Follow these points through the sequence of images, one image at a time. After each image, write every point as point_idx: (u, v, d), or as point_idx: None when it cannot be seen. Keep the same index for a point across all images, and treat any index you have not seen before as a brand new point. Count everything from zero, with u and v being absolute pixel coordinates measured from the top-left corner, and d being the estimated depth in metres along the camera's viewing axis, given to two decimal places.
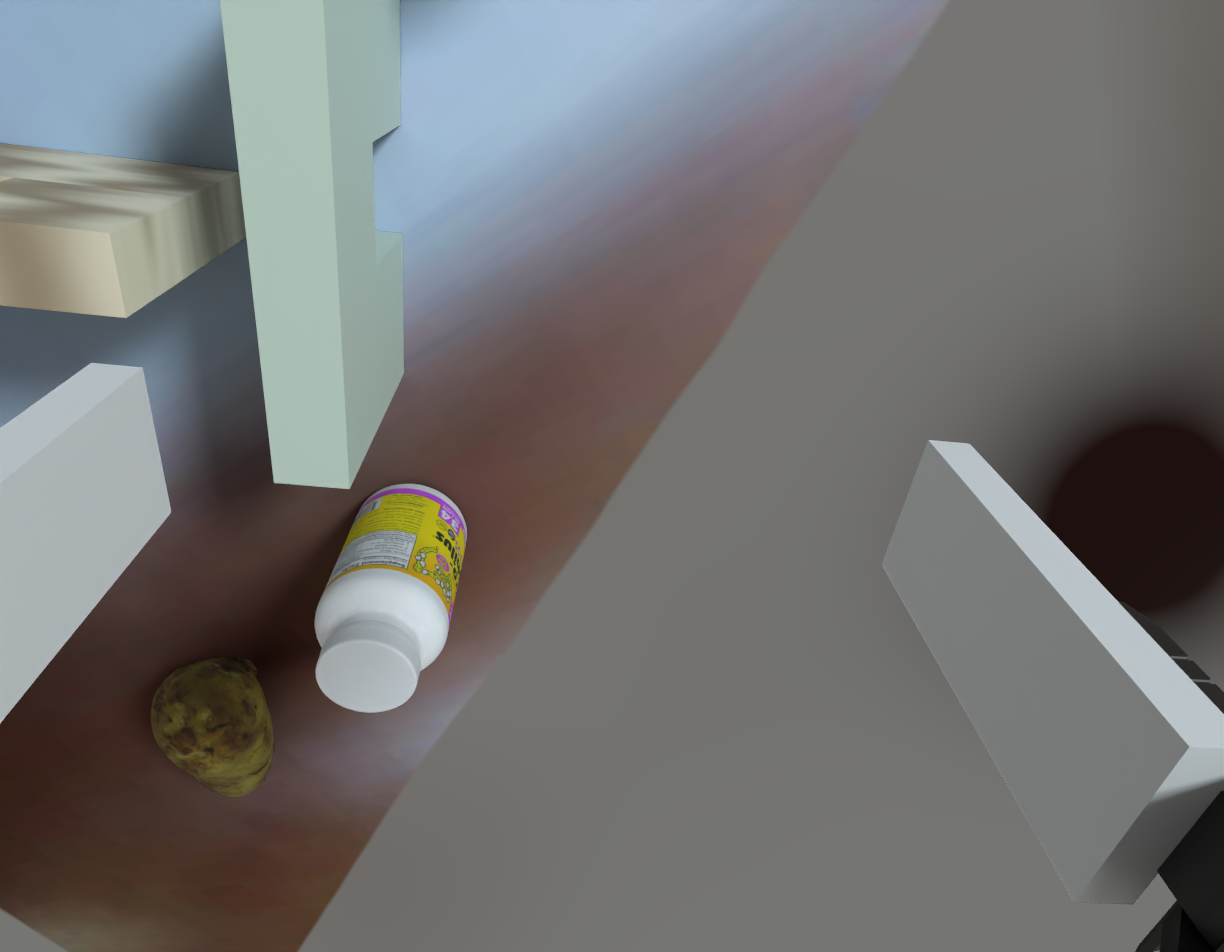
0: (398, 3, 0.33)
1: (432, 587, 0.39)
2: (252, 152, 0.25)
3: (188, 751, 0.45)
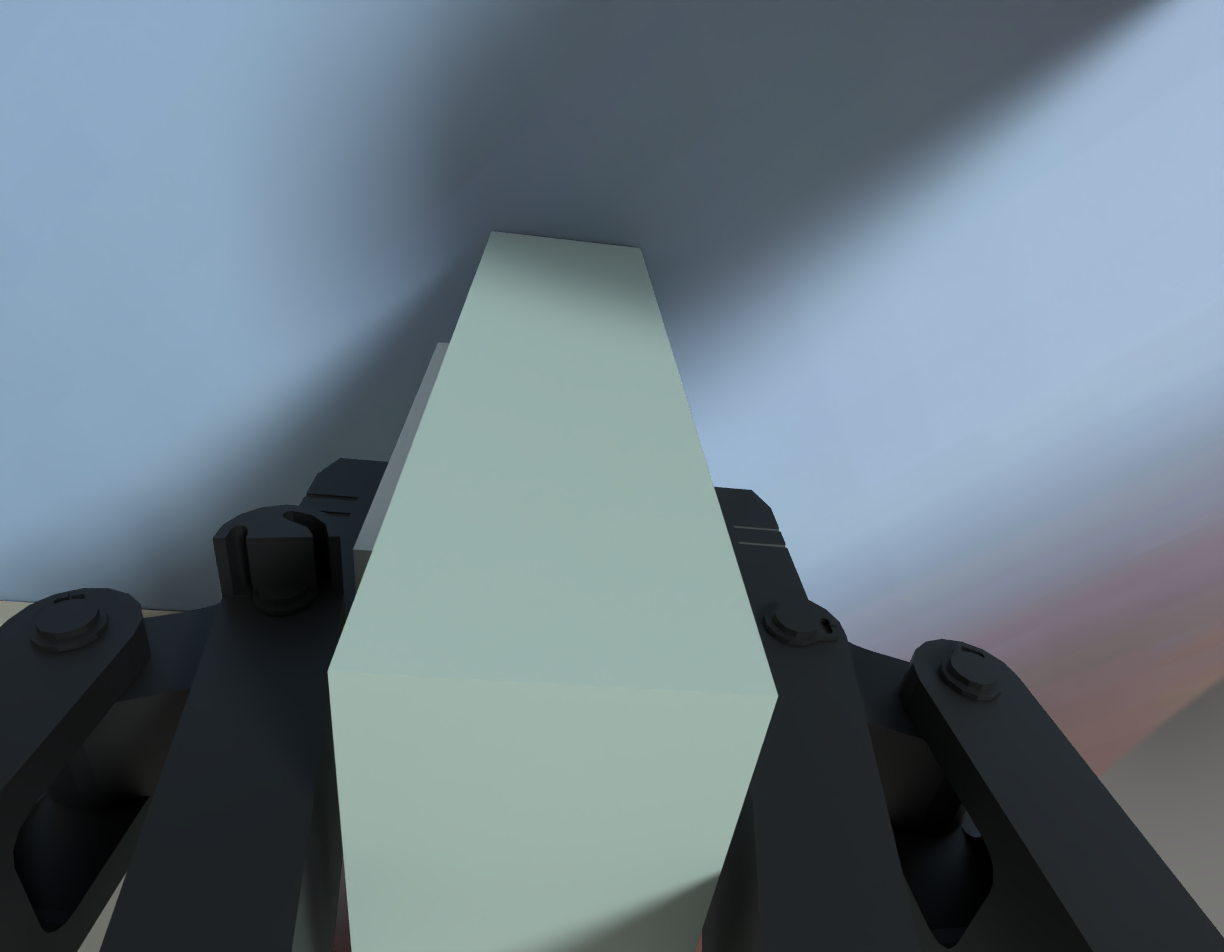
0: None
1: None
2: None
3: None
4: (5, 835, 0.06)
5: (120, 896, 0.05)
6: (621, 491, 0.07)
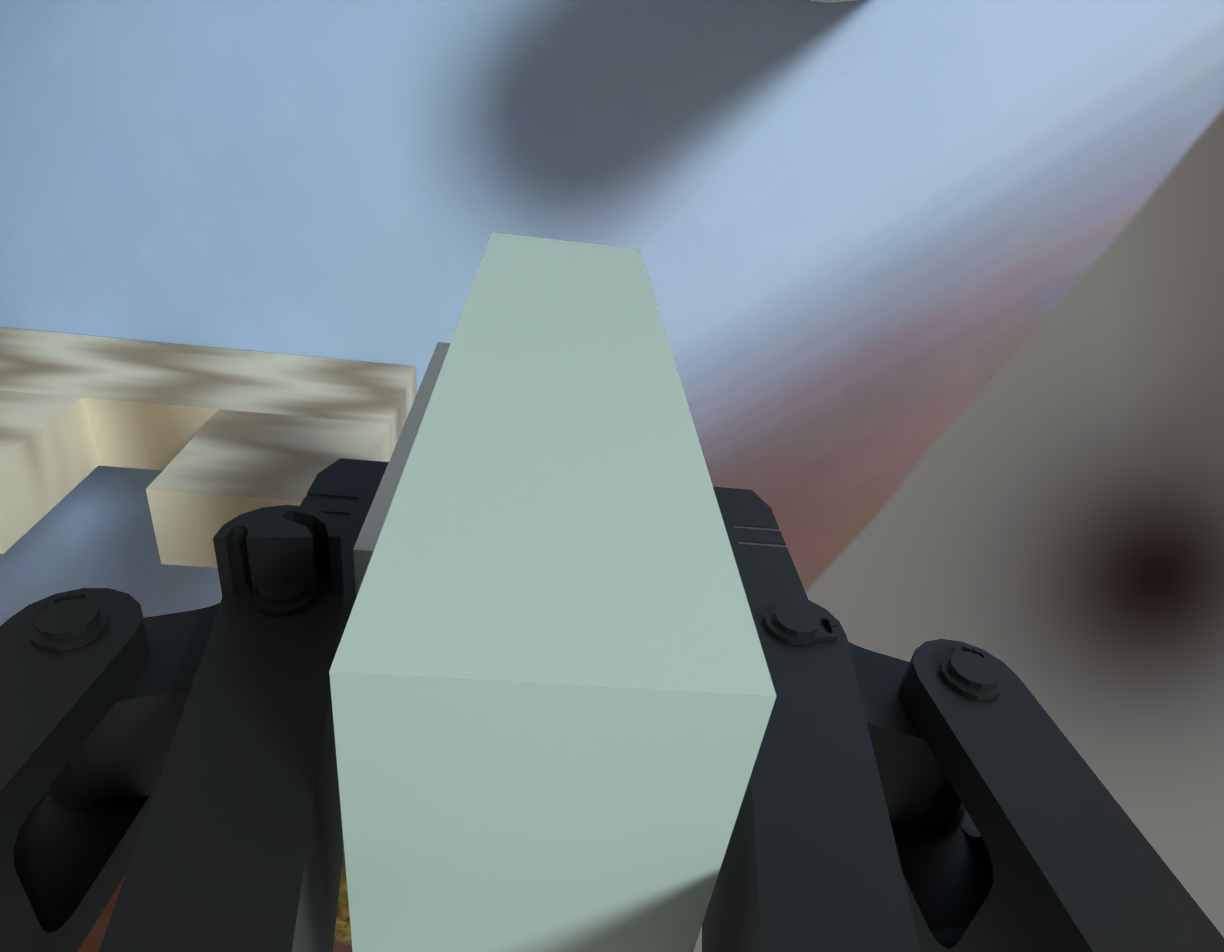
0: None
1: None
2: None
3: None
4: (4, 837, 0.06)
5: (119, 896, 0.05)
6: (620, 492, 0.07)
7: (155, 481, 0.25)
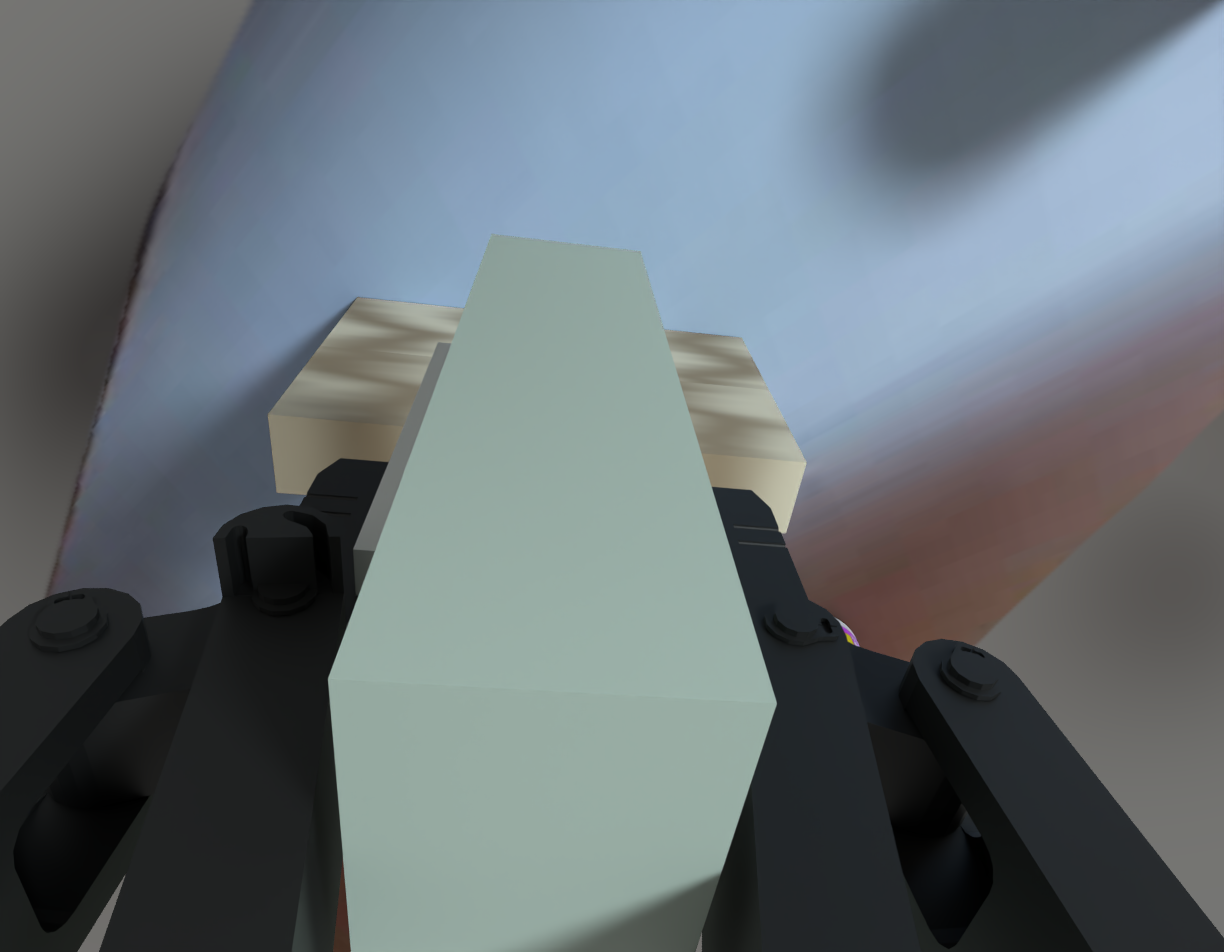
0: None
1: None
2: None
3: None
4: (3, 835, 0.06)
5: (119, 896, 0.05)
6: (619, 498, 0.07)
7: None
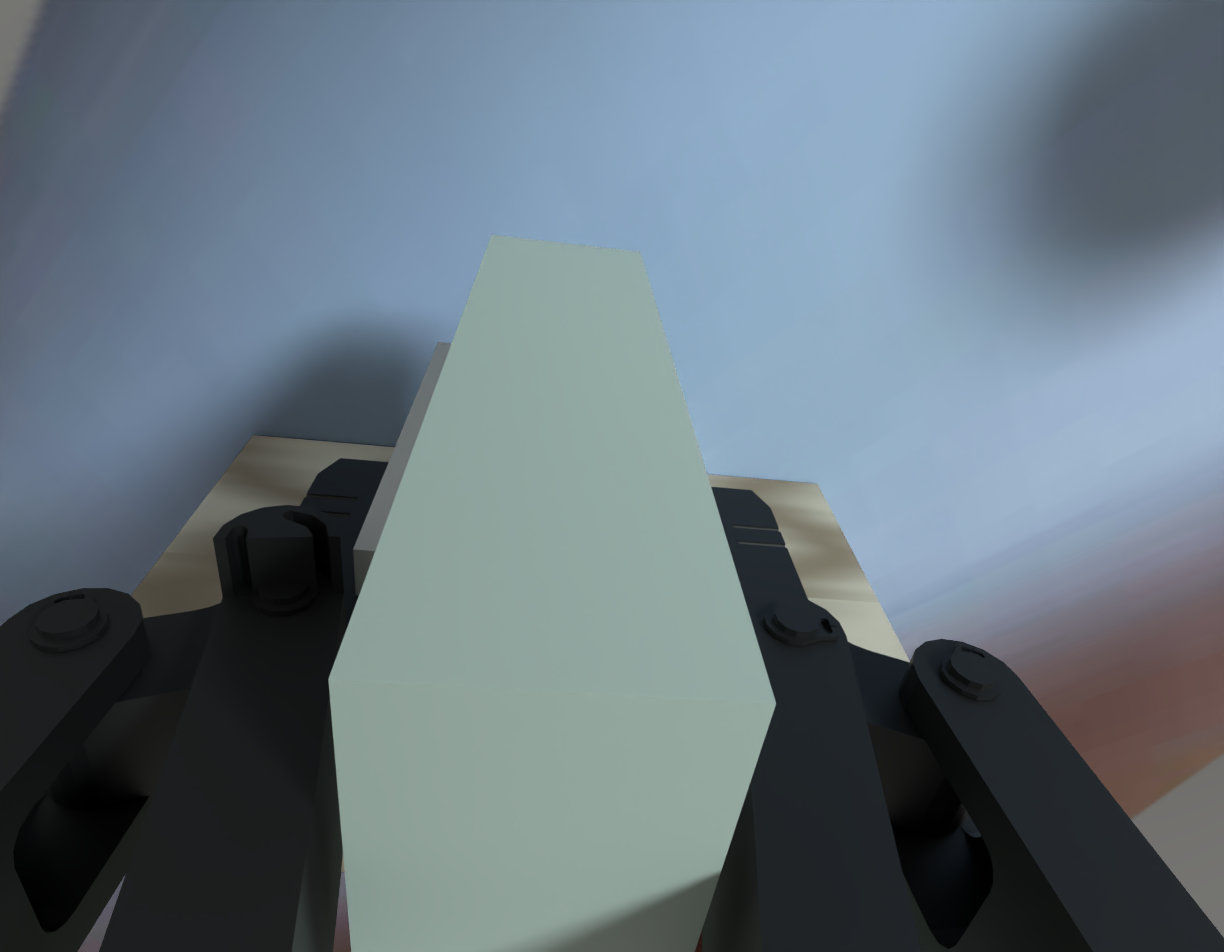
0: None
1: None
2: None
3: None
4: (5, 835, 0.06)
5: None
6: (620, 498, 0.07)
7: None
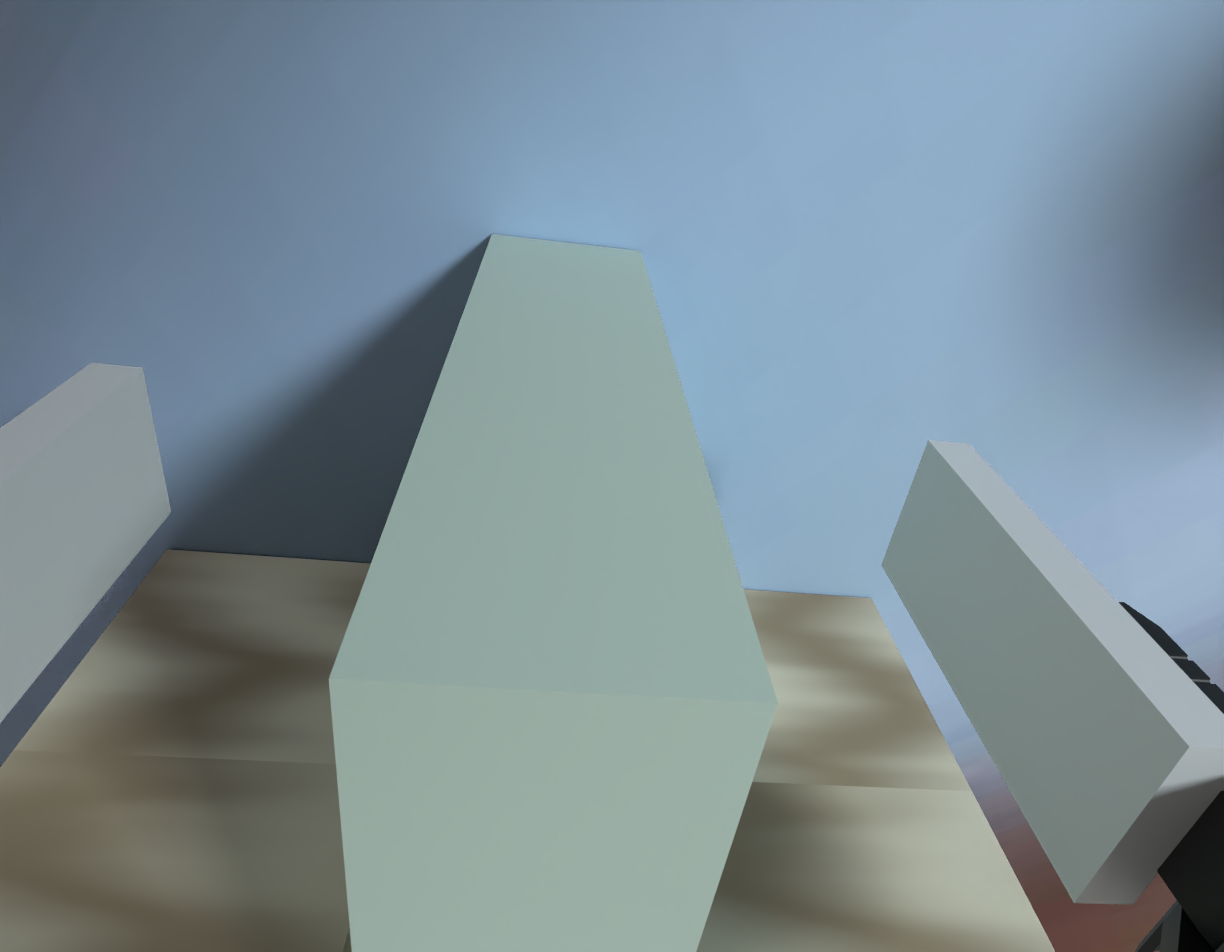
0: None
1: None
2: None
3: None
4: None
5: None
6: (621, 498, 0.07)
7: None
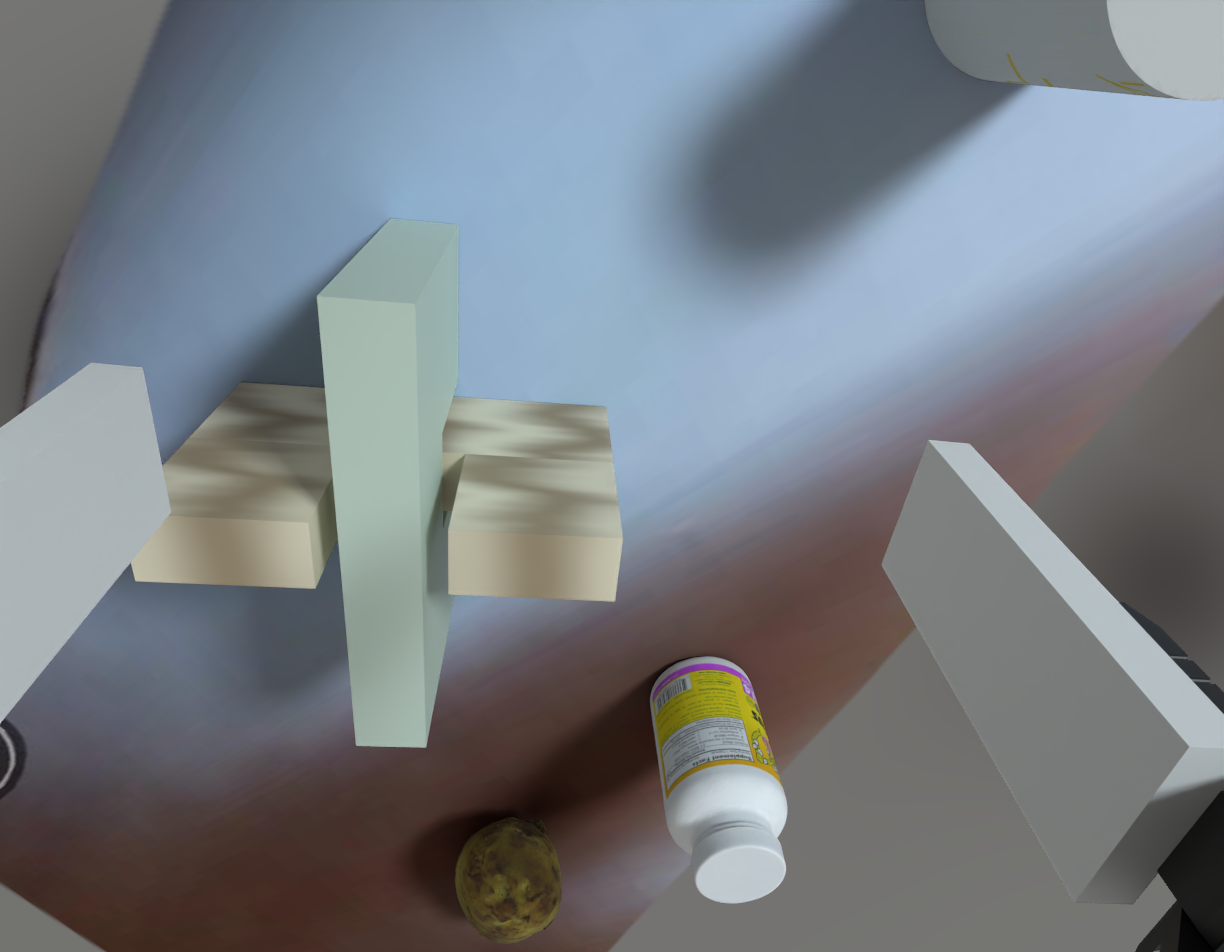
0: (457, 285, 0.36)
1: (775, 777, 0.41)
2: (348, 498, 0.27)
3: (508, 919, 0.47)
4: None
5: None
6: (398, 279, 0.26)
7: (452, 522, 0.29)
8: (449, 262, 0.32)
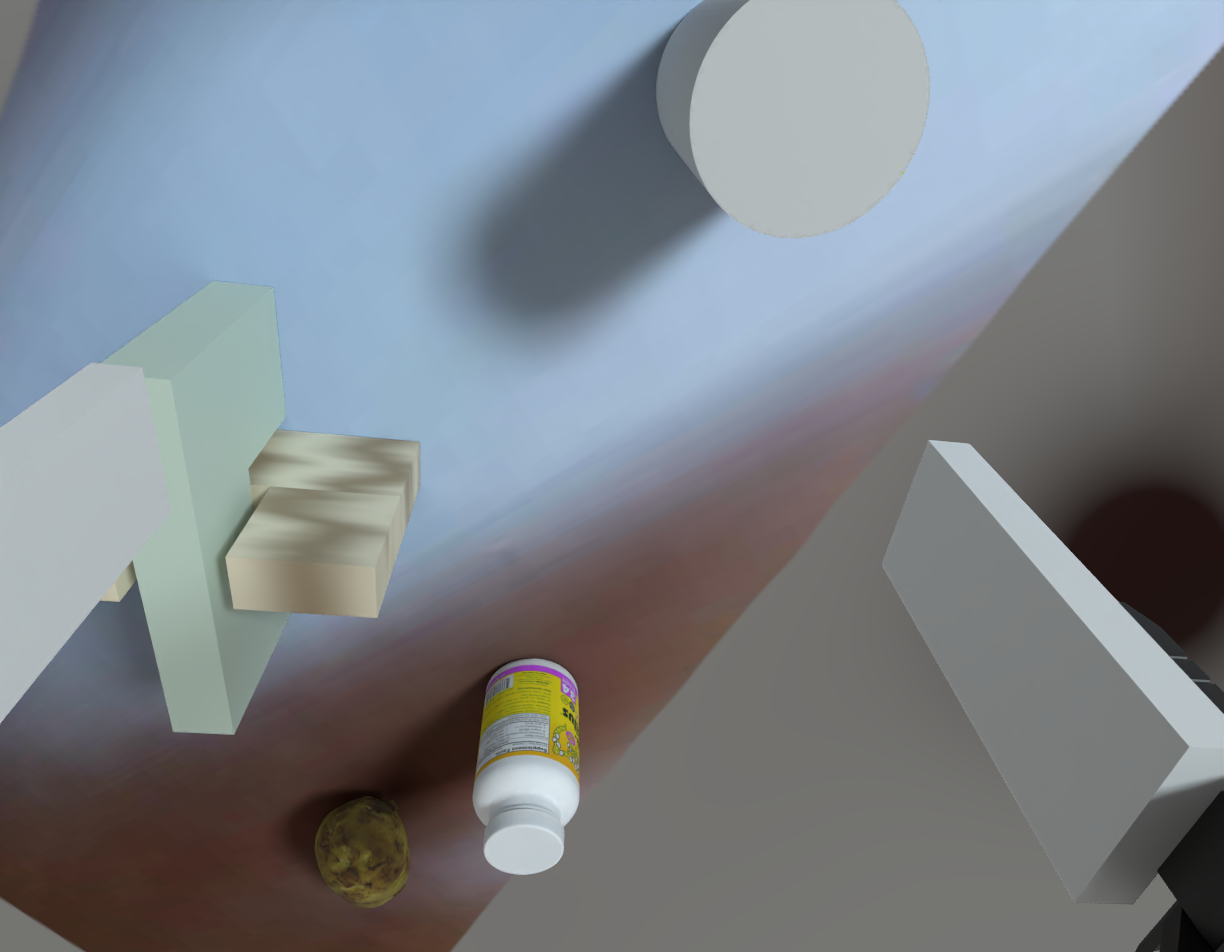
0: (276, 337, 0.41)
1: (568, 767, 0.47)
2: None
3: (352, 885, 0.54)
4: None
5: None
6: (173, 353, 0.32)
7: (231, 550, 0.34)
8: (252, 324, 0.38)
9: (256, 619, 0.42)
